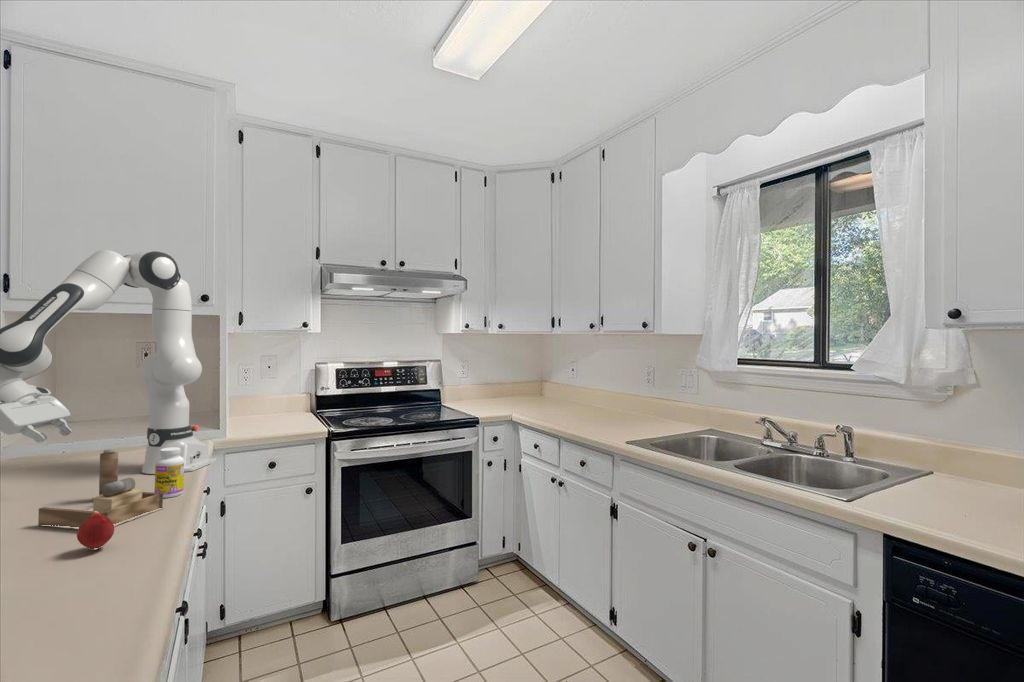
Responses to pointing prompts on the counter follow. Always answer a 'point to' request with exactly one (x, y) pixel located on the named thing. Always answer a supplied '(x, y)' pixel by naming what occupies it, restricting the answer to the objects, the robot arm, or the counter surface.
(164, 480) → the supplement bottle
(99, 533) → the onion
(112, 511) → the bay
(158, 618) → the counter surface
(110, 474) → the brown wooden pepper mill
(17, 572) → the counter surface
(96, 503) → the block with grey roller
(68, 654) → the counter surface
